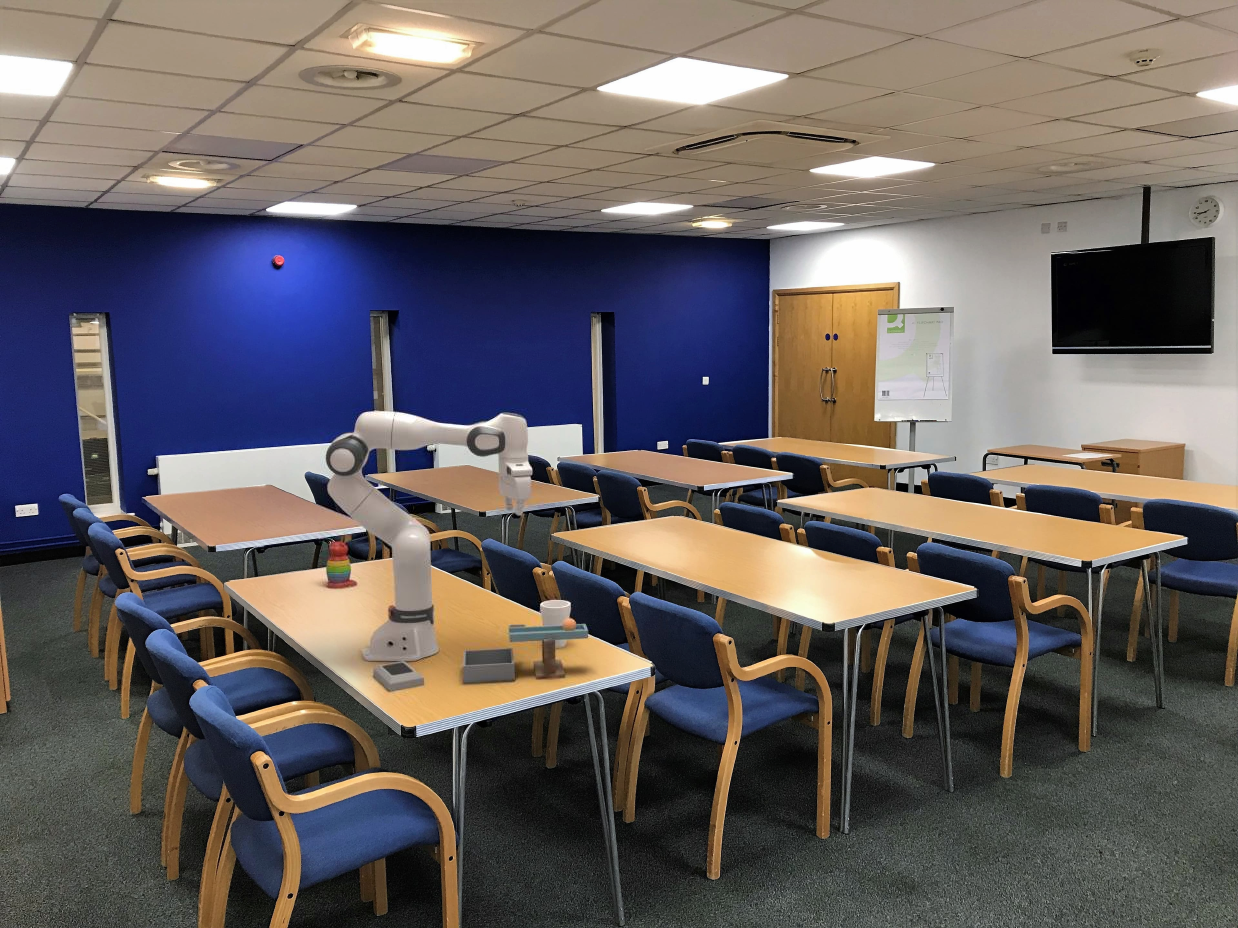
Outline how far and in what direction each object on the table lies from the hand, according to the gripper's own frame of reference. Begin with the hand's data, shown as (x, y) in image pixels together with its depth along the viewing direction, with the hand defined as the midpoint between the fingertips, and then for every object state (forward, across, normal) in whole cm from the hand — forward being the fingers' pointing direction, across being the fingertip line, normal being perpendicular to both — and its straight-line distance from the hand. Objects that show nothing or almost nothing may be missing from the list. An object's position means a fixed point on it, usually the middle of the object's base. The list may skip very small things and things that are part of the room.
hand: (514, 512), depth 279 cm
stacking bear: (+43, -108, -38) cm, 122 cm away
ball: (+30, +23, +8) cm, 39 cm away
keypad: (+44, +11, -38) cm, 59 cm away
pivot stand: (+43, +22, +3) cm, 48 cm away
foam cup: (+43, 0, +13) cm, 45 cm away
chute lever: (+33, +19, +4) cm, 38 cm away
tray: (+43, +17, -14) cm, 48 cm away
